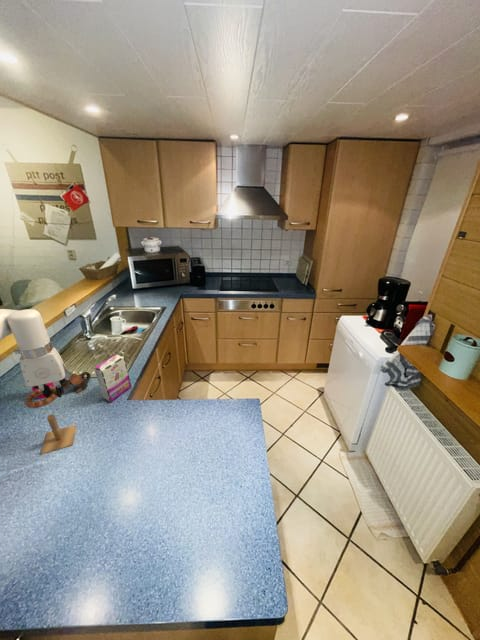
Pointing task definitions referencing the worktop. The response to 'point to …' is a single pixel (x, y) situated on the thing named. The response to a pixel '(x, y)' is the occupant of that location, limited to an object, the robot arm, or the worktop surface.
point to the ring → (34, 404)
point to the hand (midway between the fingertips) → (55, 395)
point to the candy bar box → (113, 377)
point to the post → (58, 436)
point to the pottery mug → (77, 381)
